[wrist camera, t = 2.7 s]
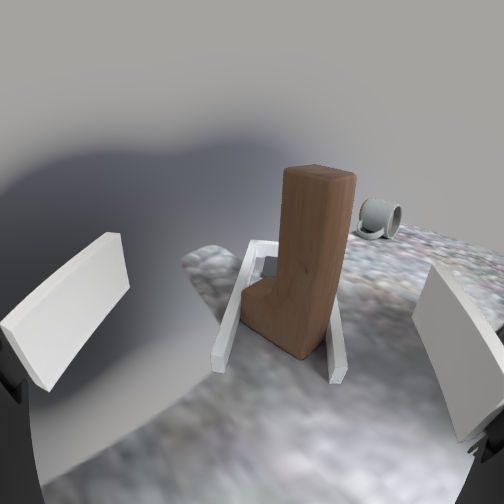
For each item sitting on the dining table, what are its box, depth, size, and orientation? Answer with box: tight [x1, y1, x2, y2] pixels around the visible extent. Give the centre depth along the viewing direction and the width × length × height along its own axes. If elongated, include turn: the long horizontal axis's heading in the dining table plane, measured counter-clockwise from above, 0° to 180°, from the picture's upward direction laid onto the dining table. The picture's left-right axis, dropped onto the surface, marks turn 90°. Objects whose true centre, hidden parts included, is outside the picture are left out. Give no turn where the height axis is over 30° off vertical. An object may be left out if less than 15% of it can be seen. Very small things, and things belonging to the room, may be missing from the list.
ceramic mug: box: [357, 198, 402, 240], centre depth 55 cm, size 11×8×8 cm
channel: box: [210, 240, 348, 384], centre depth 34 cm, size 12×25×2 cm, turn 172°
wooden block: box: [241, 164, 357, 360], centre depth 26 cm, size 9×4×18 cm, turn 45°
